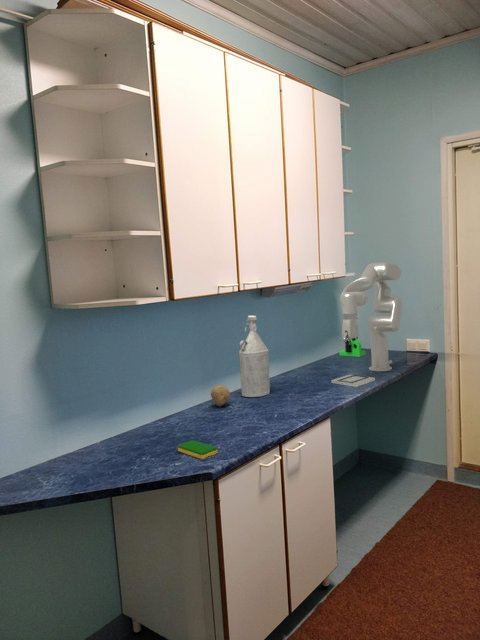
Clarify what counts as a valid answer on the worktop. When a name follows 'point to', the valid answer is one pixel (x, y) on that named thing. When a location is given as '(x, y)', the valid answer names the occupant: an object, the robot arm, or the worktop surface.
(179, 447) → the dish sponge
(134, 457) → the worktop surface
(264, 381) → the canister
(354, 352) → the mechanical part
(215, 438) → the worktop surface
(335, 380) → the flange
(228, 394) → the natural sponge
